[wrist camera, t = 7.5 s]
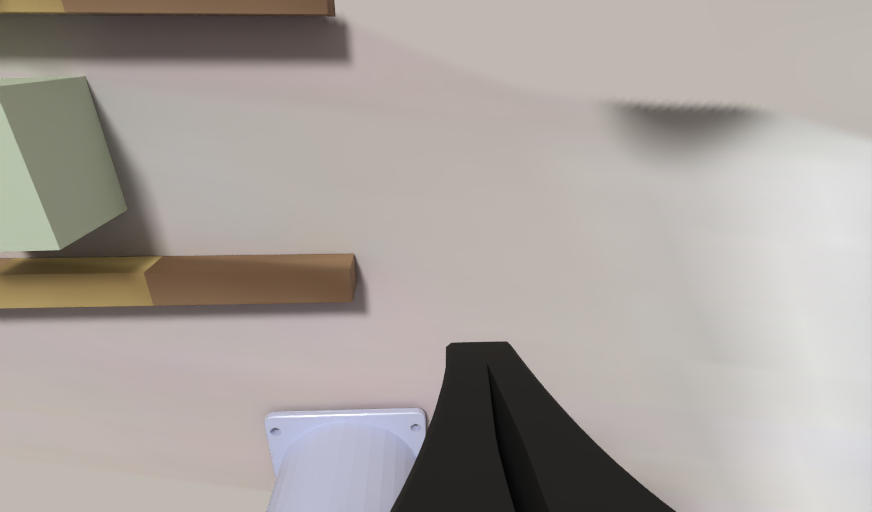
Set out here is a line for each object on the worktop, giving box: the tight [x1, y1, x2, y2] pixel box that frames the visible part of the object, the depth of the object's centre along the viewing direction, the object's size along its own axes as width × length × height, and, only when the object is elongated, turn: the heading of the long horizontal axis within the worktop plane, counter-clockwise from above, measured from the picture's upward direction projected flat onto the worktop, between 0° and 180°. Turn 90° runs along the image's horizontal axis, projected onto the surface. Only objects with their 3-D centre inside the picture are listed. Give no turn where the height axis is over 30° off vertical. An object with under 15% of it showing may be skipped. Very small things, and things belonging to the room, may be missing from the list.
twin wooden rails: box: [0, 0, 357, 308], centre depth 16 cm, size 12×24×2 cm, turn 90°
